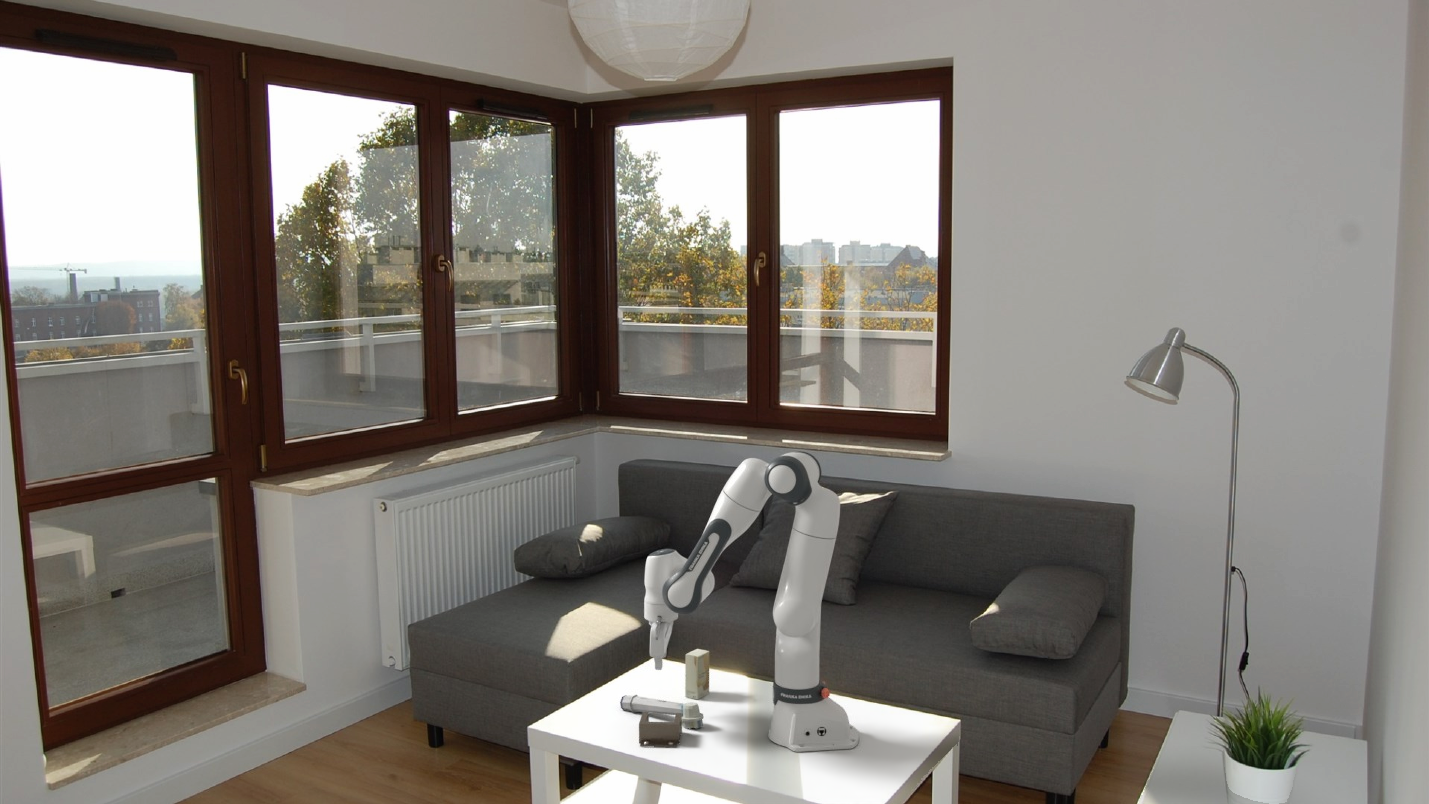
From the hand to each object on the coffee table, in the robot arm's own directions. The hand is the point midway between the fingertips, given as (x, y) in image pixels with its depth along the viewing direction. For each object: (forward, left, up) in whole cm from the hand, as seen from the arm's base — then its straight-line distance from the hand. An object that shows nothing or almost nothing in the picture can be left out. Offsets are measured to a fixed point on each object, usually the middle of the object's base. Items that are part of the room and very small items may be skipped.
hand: (660, 662), depth 280 cm
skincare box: (-8, -17, -15) cm, 24 cm away
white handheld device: (0, 0, -15) cm, 15 cm away
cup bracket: (-1, +13, -15) cm, 20 cm away
